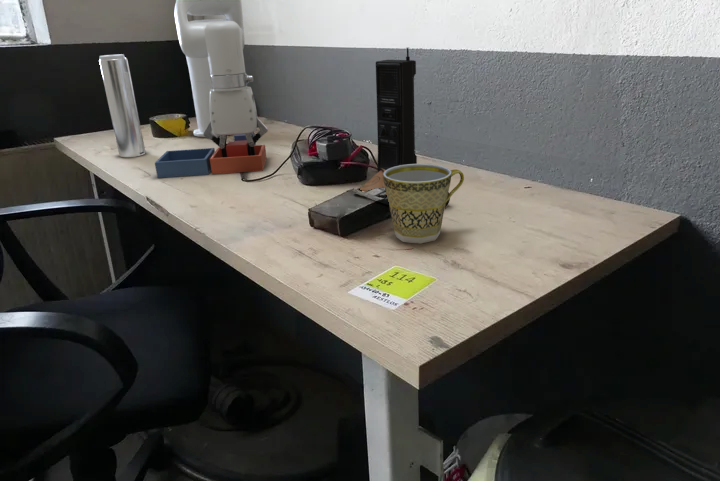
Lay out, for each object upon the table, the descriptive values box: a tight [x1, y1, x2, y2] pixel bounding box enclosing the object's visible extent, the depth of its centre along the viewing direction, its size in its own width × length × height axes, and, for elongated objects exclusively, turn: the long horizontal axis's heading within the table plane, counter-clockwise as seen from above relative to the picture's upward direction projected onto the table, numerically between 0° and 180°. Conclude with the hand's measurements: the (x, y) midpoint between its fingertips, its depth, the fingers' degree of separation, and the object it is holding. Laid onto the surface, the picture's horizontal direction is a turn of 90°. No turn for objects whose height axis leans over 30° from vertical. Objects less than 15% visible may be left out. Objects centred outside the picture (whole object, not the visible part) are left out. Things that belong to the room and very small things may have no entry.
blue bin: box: [154, 147, 216, 179], centre depth 131 cm, size 11×11×4 cm
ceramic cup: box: [383, 163, 465, 245], centre depth 86 cm, size 13×10×10 cm
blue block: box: [233, 132, 257, 145], centre depth 143 cm, size 5×5×5 cm
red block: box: [226, 140, 248, 157], centre depth 131 cm, size 5×5×5 cm
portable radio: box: [375, 47, 418, 172], centre depth 117 cm, size 8×6×25 cm
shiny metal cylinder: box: [98, 53, 146, 158], centre depth 144 cm, size 6×6×25 cm
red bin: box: [210, 144, 267, 175], centre depth 132 cm, size 11×11×4 cm
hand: (239, 162), depth 132 cm, fingers closed on red block, 4 cm apart
